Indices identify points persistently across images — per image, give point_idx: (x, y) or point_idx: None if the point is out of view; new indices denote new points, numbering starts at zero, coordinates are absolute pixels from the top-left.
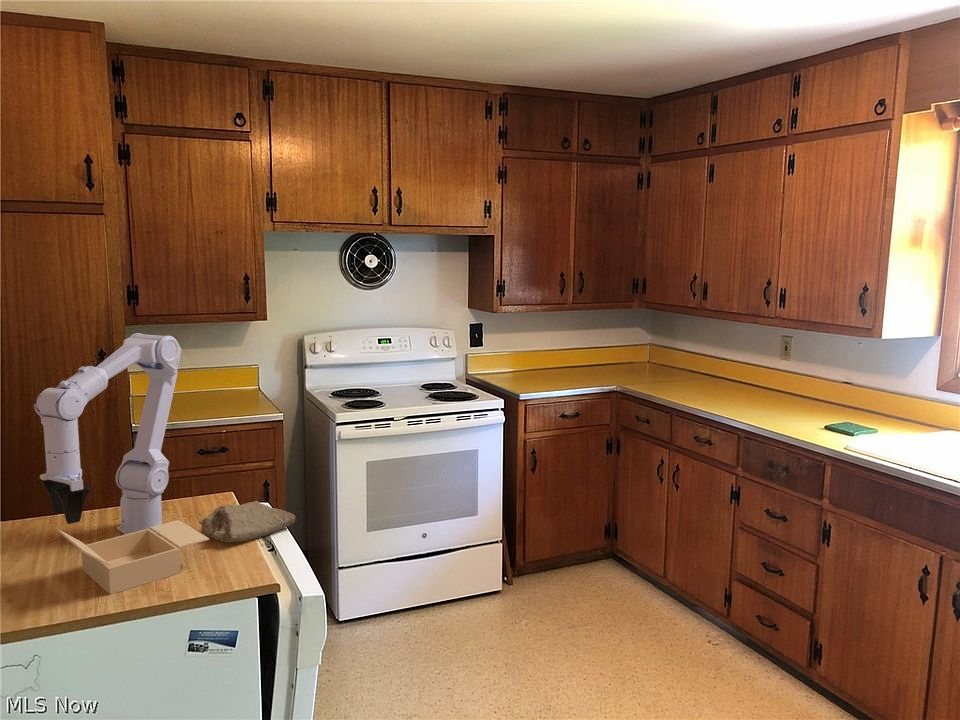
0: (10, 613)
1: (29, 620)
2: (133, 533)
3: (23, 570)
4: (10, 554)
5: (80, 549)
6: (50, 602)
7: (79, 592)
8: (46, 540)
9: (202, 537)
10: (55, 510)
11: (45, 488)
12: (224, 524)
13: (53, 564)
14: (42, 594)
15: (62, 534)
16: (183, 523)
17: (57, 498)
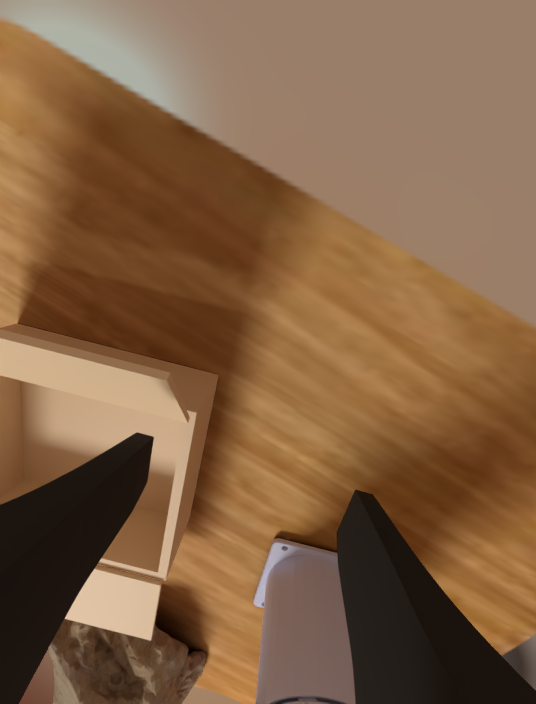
0: (95, 75)
1: (6, 88)
2: (165, 542)
3: (369, 283)
4: (529, 331)
5: None
6: (83, 201)
7: (88, 287)
8: (512, 445)
9: None
10: (358, 503)
11: (509, 676)
12: (80, 657)
13: (328, 356)
14: (153, 218)
15: (68, 350)
16: (115, 630)
17: (374, 591)
